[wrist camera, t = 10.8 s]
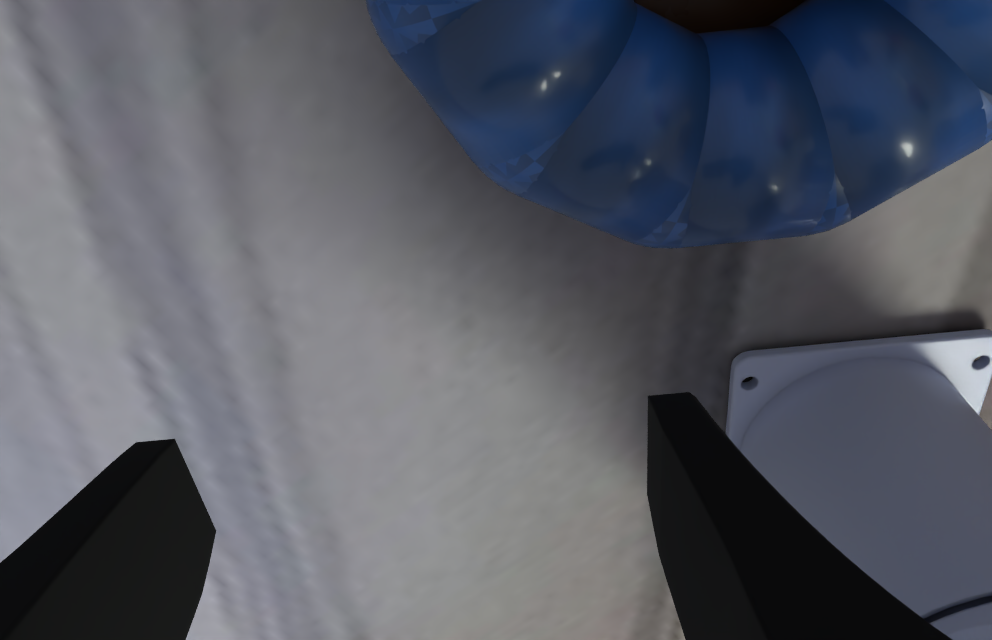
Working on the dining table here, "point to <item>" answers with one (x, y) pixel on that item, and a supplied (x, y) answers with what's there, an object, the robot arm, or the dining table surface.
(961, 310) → the dining table surface
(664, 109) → the blue swim ring
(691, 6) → the wooden peg stand
